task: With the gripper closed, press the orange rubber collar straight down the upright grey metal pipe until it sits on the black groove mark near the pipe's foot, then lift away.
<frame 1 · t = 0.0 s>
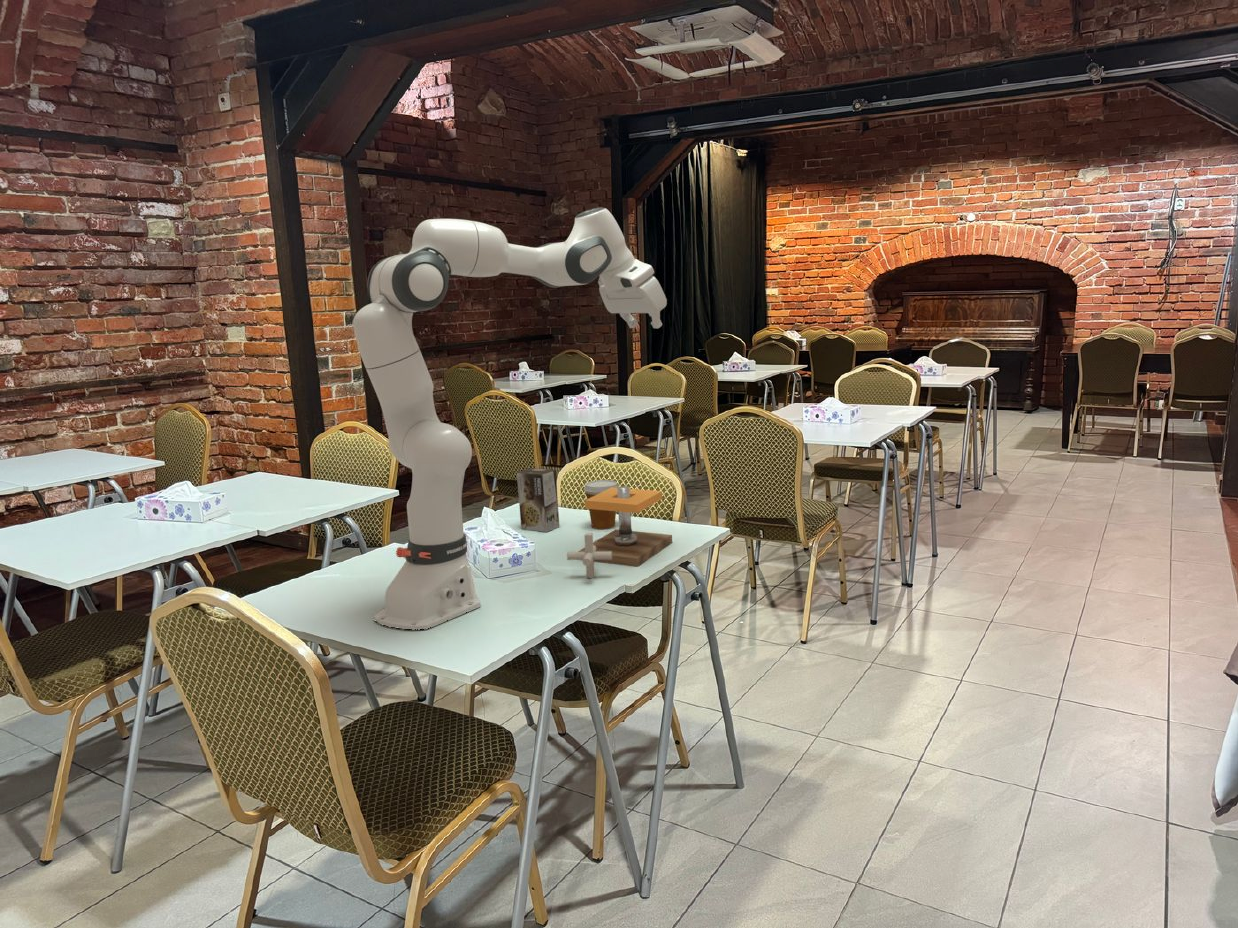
hand: (646, 327, 200), 54 cm above the table, tool tilted 30°, fingers open, 8 cm apart
metal pipe: (624, 515, 208), on the walnut base board, point 9 cm above the table
walnut base board: (626, 550, 210), on the table
grey-brown upright rectangular box: (540, 528, 234), on the table
disposable coffee cup: (603, 526, 232), on the table
orange collar: (624, 499, 207), point 13 cm above the table, slide at 8.0 cm
pipe connector: (590, 577, 192), on the table
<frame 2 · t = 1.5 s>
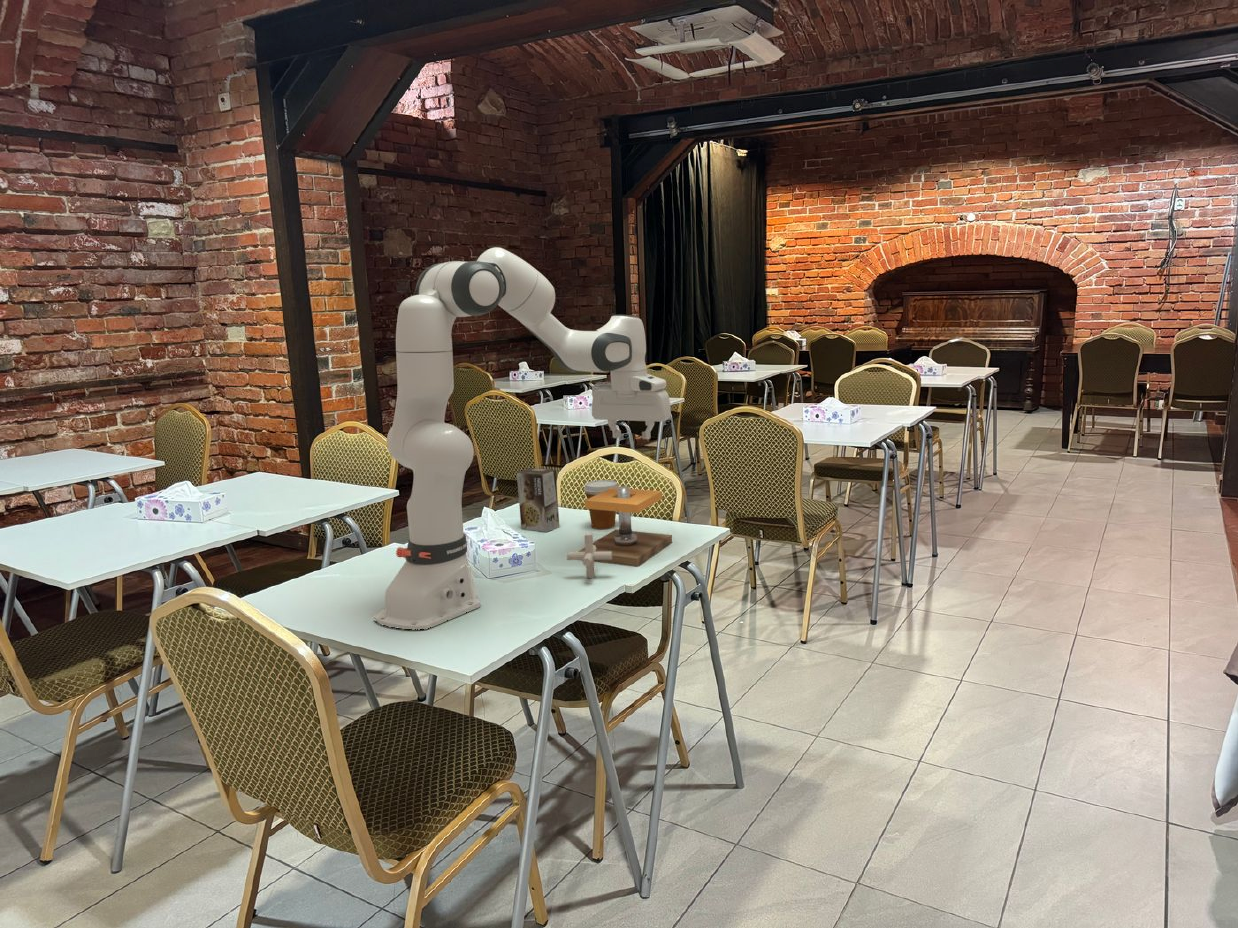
hand: (631, 438, 209), 27 cm above the table, tool pointing down, fingers open, 7 cm apart
nothing on the table moved.
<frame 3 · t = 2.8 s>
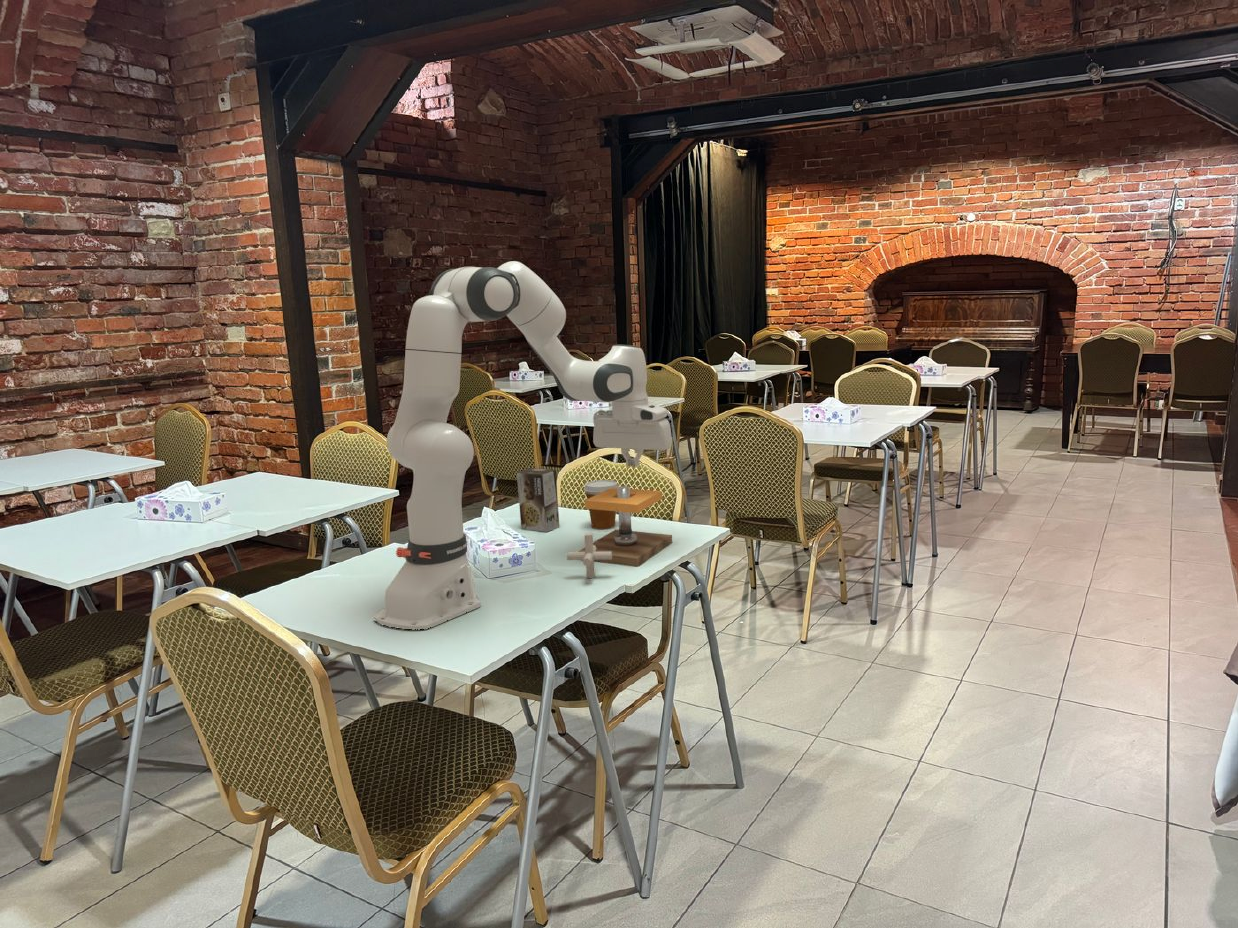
hand: (633, 466, 210), 20 cm above the table, tool pointing down, fingers closed
nothing on the table moved.
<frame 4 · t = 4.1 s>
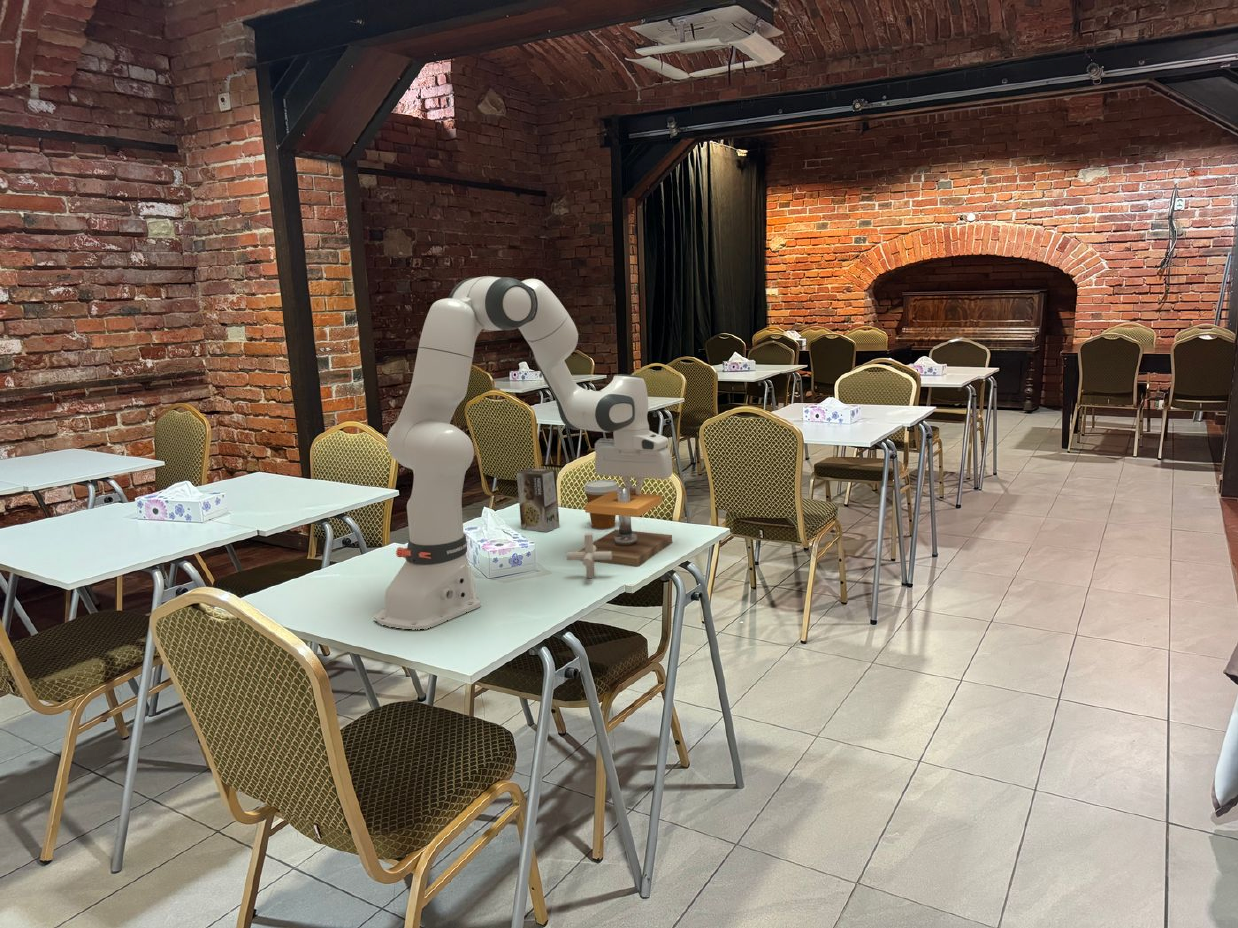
hand: (634, 494, 212), 13 cm above the table, tool pointing down, fingers closed, pressing on orange collar
orange collar: (624, 503, 207), point 12 cm above the table, slide at 7.0 cm, touching gripper
everything else where it was.
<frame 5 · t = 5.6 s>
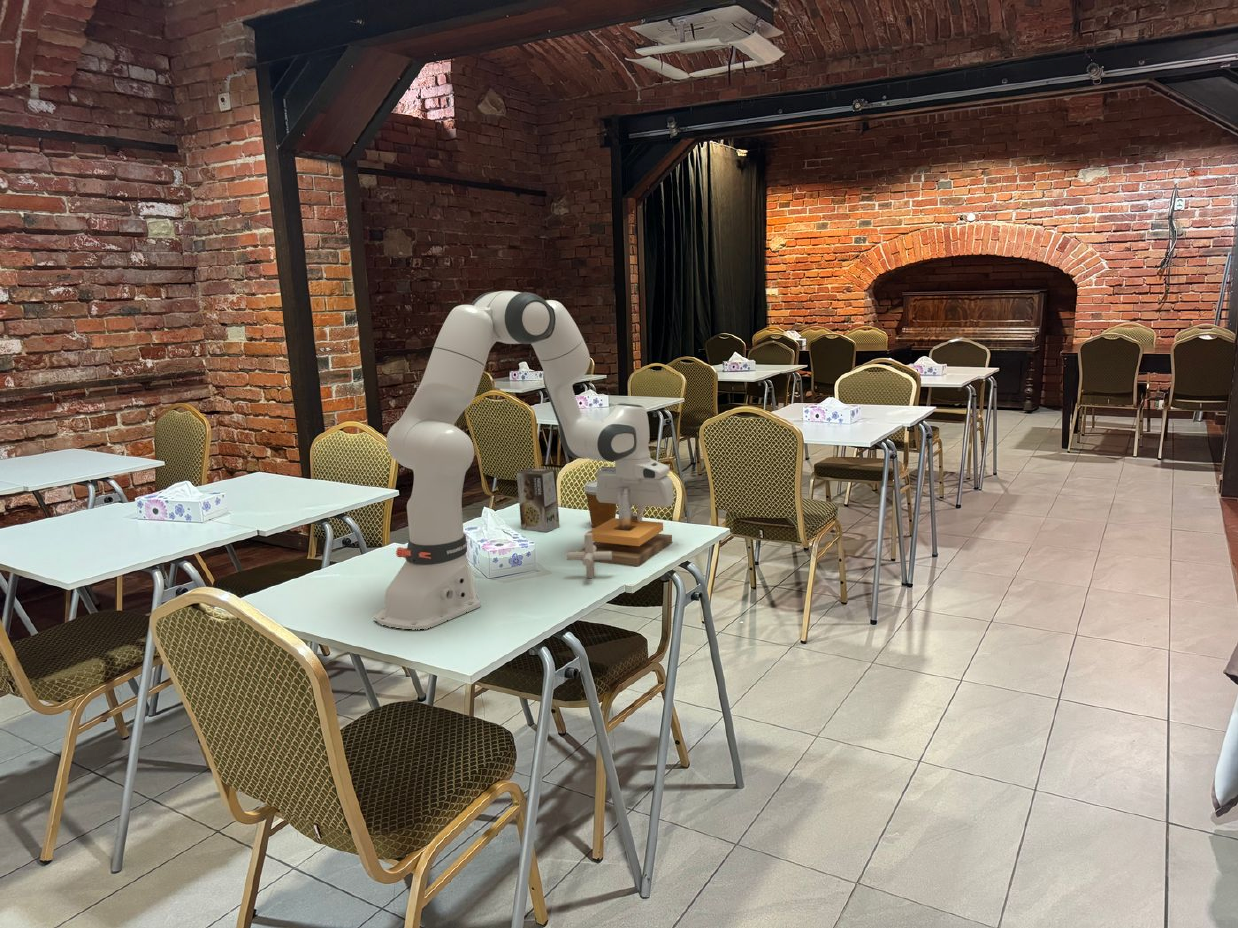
hand: (635, 521, 213), 6 cm above the table, tool pointing down, fingers closed, pressing on orange collar
orange collar: (625, 531, 209), point 5 cm above the table, slide at -0.1 cm, touching gripper
everything else where it was.
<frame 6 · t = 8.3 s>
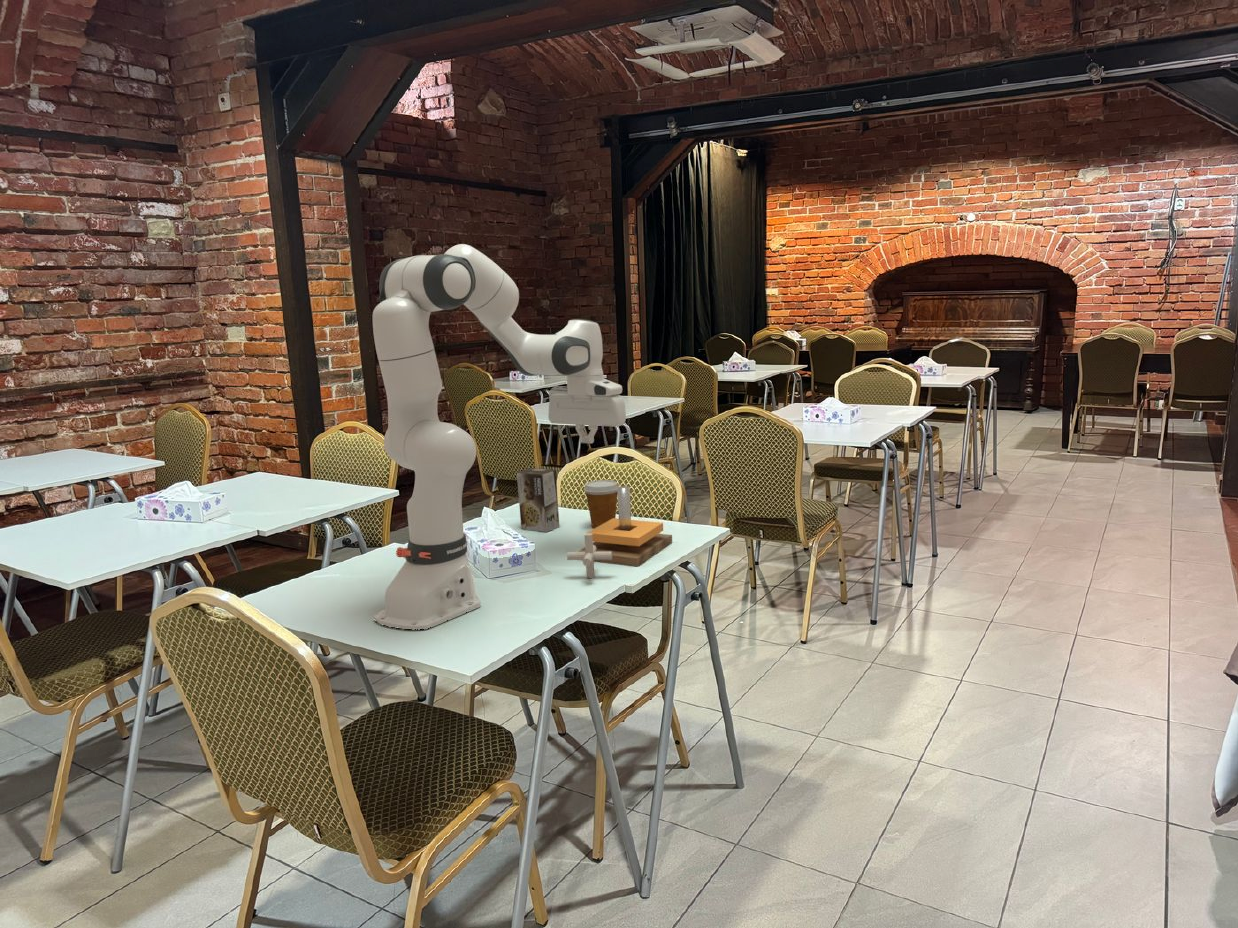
hand: (587, 442, 209), 27 cm above the table, tool pointing down, fingers closed
orange collar: (625, 531, 209), point 5 cm above the table, slide at -0.1 cm
everything else where it was.
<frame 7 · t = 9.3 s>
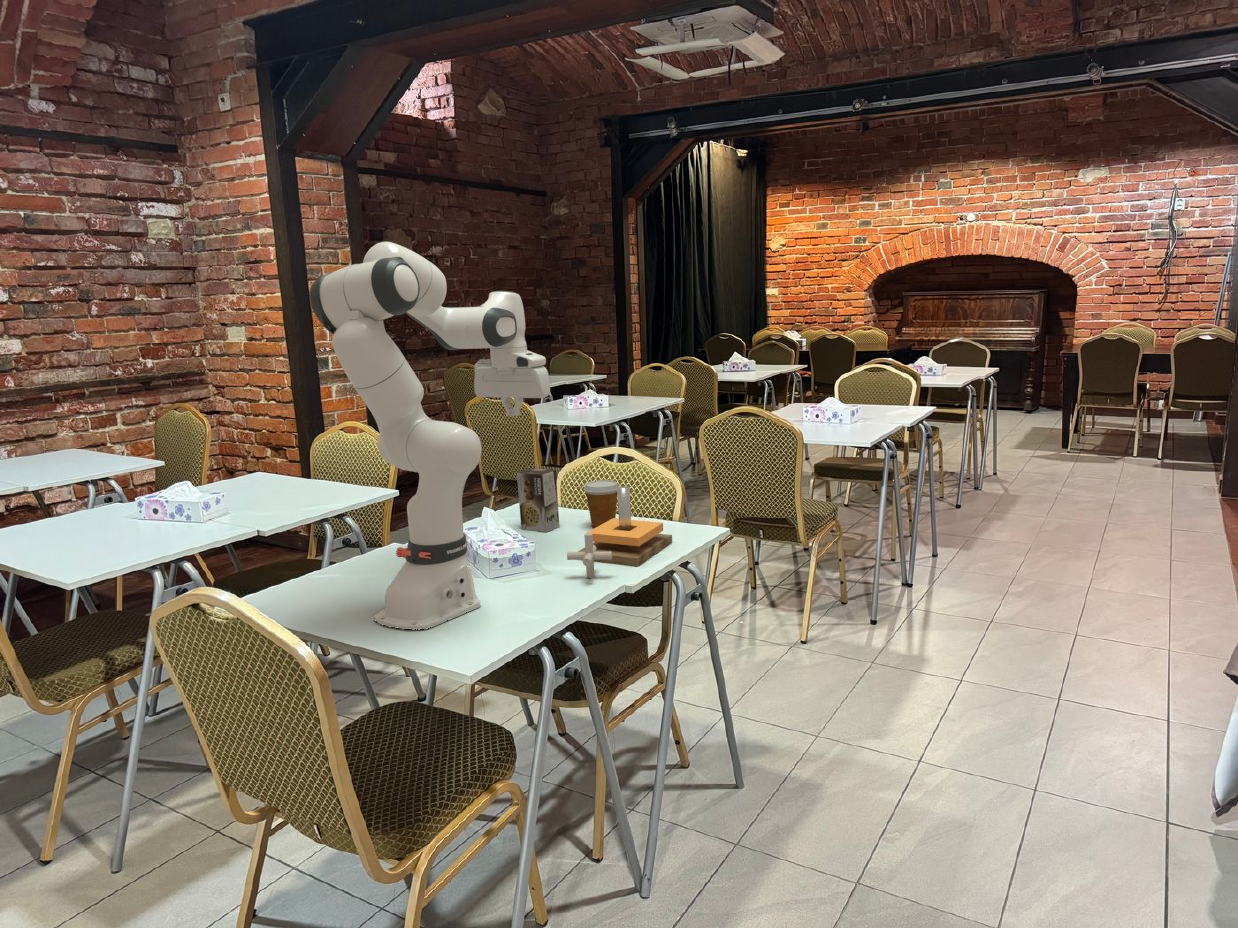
hand: (513, 415, 208), 34 cm above the table, tool pointing down, fingers closed
nothing on the table moved.
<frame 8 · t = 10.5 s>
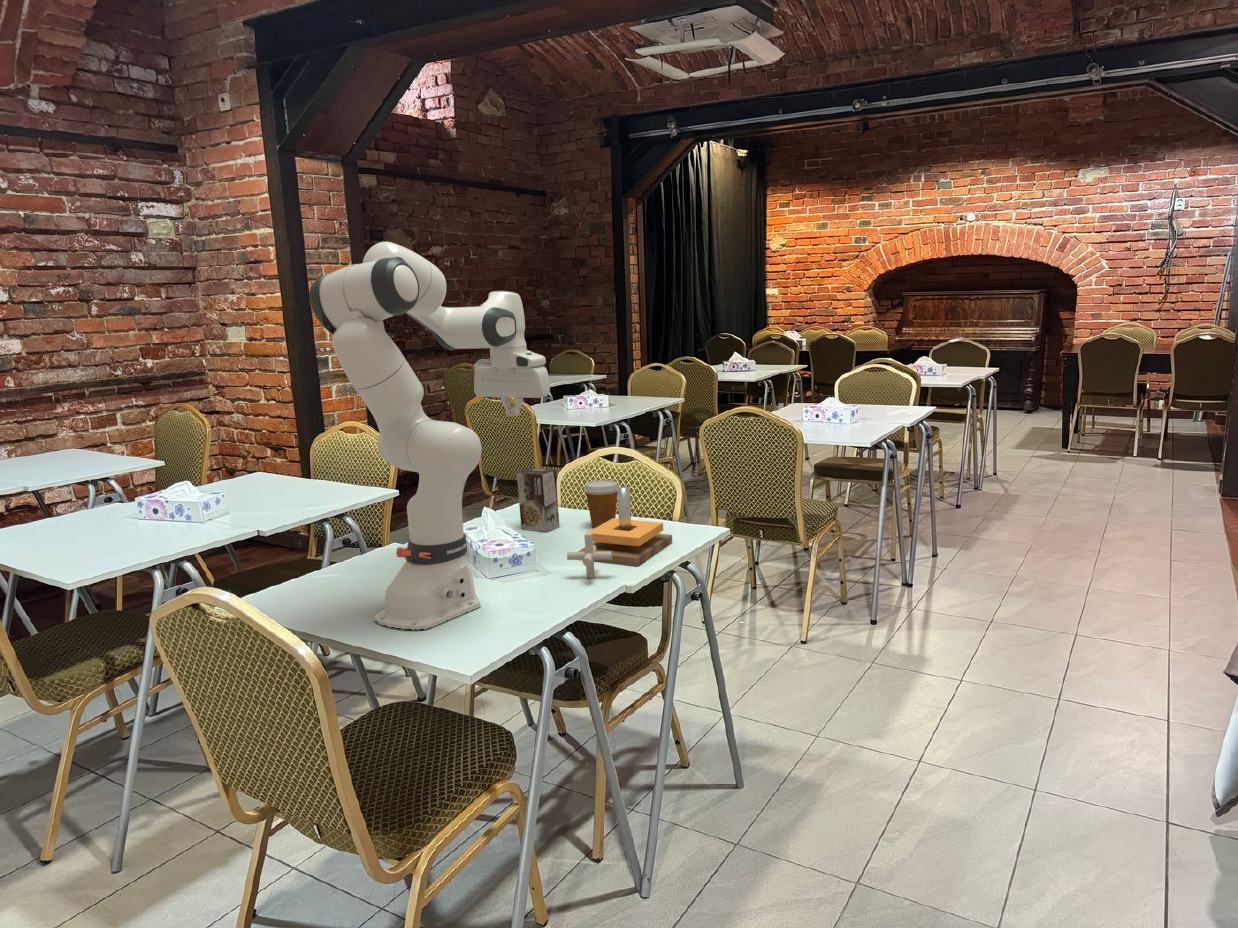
hand: (513, 415, 208), 34 cm above the table, tool pointing down, fingers closed
nothing on the table moved.
at the end: orange collar slide at -0.1 cm; the gripper is holding nothing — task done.
